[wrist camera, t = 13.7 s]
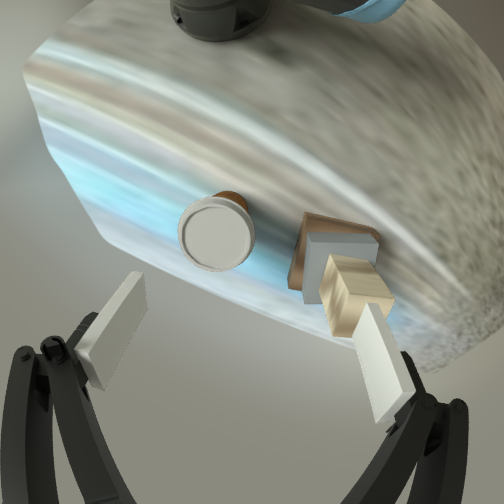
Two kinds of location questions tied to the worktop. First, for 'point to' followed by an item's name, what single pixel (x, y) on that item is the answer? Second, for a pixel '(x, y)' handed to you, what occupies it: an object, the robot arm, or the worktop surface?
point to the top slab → (336, 244)
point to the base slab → (319, 225)
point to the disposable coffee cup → (217, 232)
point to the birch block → (351, 292)
